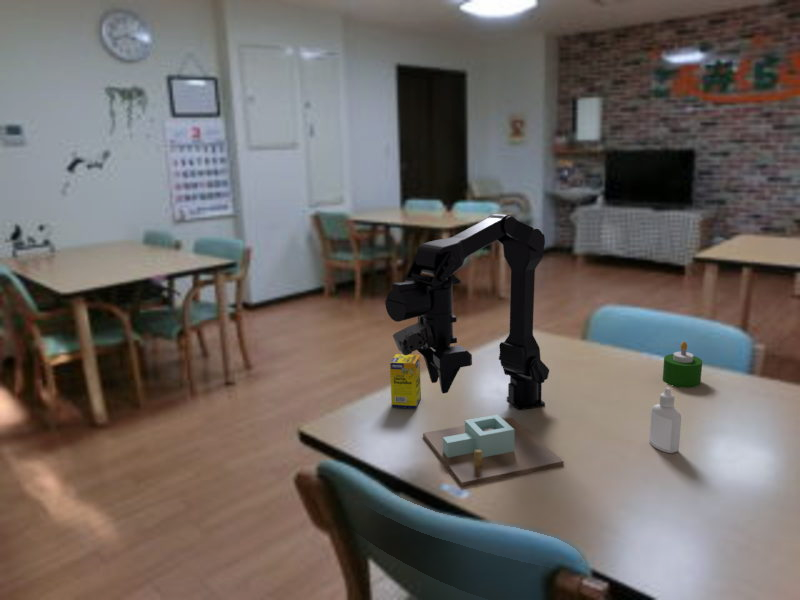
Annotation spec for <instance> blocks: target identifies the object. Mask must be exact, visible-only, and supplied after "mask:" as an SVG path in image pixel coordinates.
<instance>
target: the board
mask: <svg viewBox="0 0 800 600" xmlns="http://www.w3.org/2000/svg"><path fill="white" fill-rule="evenodd" d="M502 419H503V420H504V421H506V422H507V423H508V424H509V425H510V426H511V427H512V428H513V429H514V451H513V452H508V453H503V454H498V455H493V456H488V457H483V458H482V451H481V450H475V451H474V453H469V454H464V455H459V456H454V457H449V458H448V457H447V456H446V455H445V453H444V452H443V437H448V436H453V435H458V434H464V433H465V425H461V426H459V425H458V426H455V427H449V428H444V429H443V428H442V429H439V430H432V431H427V432H423V434H422V436H423V438H424V440H425V441H426V442H427V444H428V445H429V446H430V447H431V449H432V450H433V451H434V453H435V454H436V456H438V458H439V459H440V460H441V462H442V463H443V464H444V466H445V467H446V468H447V469H448V471H449V472H450V473H451V474H452V476H453V477H454V479H455V480H456V481H457V483H459V485H460V486H461V487H467V486H470V485H471V484H472V485H476V483H477V484H481V483H486V482H490V481H494V480H500V479H505V478H510V477H514V476H518V475H519V476H520V475H523V474H528V473H533V472H537V471H542V470H546V469H551V468H556V467H560V466H562V467H563V466H564V465H565V462H564V460H563V459H562V458H560V456H559V455H557V454H556V452H554V451H552V450H551V448H549V447H548V446H547V445H546V444H544V443H543V442H542V441H541V440H540V439H539V438H538V437H536V436H535V435H534V434H533V433H531V432H530V430H528V428H526V427H525V426H524V425H522V424H521V423H520V422H519V421H518V420H516V418H514V417H513V416H510V417H504V418H502ZM490 430H495V429H492V428H487V429H484V430H483V432H484V431H490ZM472 485H471V486H472Z"/></svg>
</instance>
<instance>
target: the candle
mask: <svg viewBox="0 0 800 600" xmlns="http://www.w3.org/2000/svg"><path fill="white" fill-rule="evenodd" d="M687 350H688V343H687V341H682V342H681V344H680V351H676V352H675V351H674V352H673V353H671V354H666V355H665V356H663V357H664V358H663V366H662V367H663V368H662V369H663V370H662V382H663V383H665V382H666V383H668V384H667V385H669V384H670V385H669V386H671V385H673V386H672V387H675V386H676V388H681V387H682V388H683V389H691V388H692V387H693V388H697V387H699V386H701V380H702V367H703V360H702V359H701V358H700V357H698V356H694V353H691V352H688V351H687ZM666 383H665V384H666ZM684 387H685V388H684Z"/></svg>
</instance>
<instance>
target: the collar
mask: <svg viewBox="0 0 800 600" xmlns="http://www.w3.org/2000/svg"><path fill="white" fill-rule="evenodd" d="M464 426H465V433H464V434H458V435H453V436H448V437H443V452H444V453H445V455H446V456H447V457H448V458H449V457H454V456H459V455H464V454H469V453H474V451H475V450H481V451H482V458H483V457H488V456H493V455H498V454H503V453H508V452H513V451H514V429H513V428H512V427H511V426H510V425H509V424H508V423H507V422H506V421H504V420H503V418H502V417H501V416H500V415H499V414H493V415H487V416H482V417H477V418H476V417H475V418H471V419H465V420H464ZM487 428H492V429H495V430H490V431H484V432H483V430H484V429H487Z"/></svg>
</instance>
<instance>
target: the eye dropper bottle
mask: <svg viewBox="0 0 800 600" xmlns="http://www.w3.org/2000/svg"><path fill="white" fill-rule="evenodd" d="M659 396H660V397H659V403H656V404H654V405H653V406H652V407H651V410H650V411H651V412H650V425H649V436H648V437H649V438H648V439H649V443H650V445H651V446H653V448H655V449H656V450H659V451H660V452H661V451H662V452H664V453H667V454H675V453H676V452H679V449H680V440H681V439H680V438H681V430H682V429H681V426H682V415H681V413H680V412H679V410H678V409H677V408H676V407H674V406H675V395H674V394H673V393H672V392H671V388H670V387H665V389H664V392H662V393H660V394H659Z"/></svg>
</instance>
